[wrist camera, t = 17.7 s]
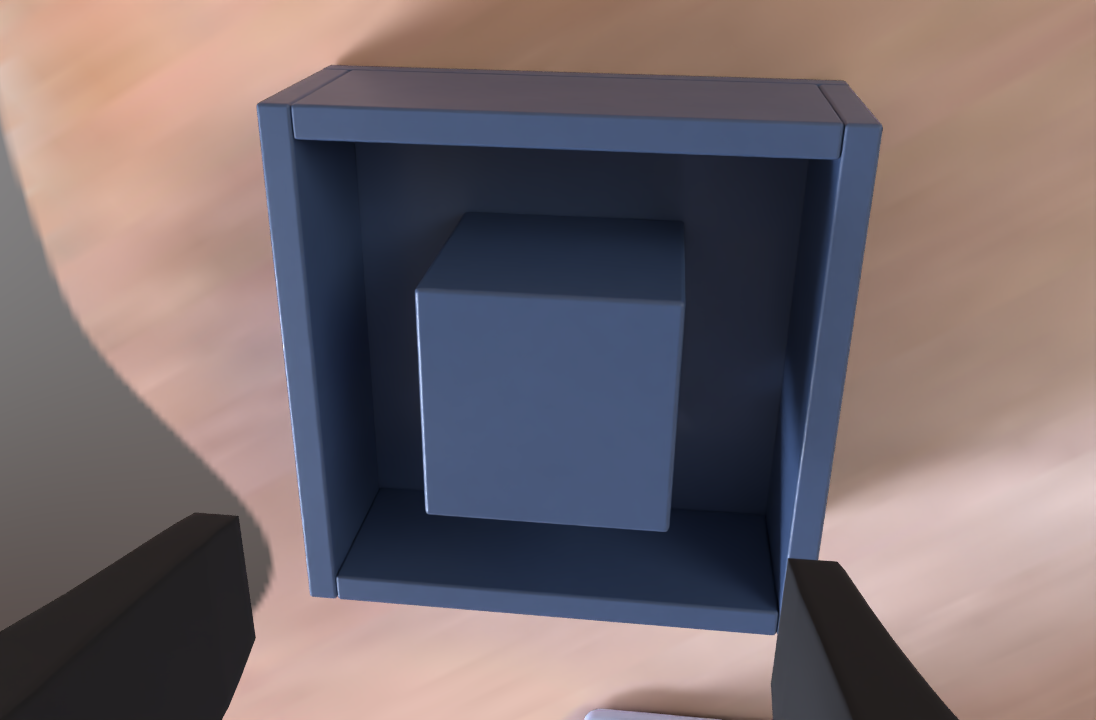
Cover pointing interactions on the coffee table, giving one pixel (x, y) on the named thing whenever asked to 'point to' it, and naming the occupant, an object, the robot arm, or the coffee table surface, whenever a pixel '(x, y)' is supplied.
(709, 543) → the slate bin
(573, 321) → the slate block
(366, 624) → the coffee table surface
